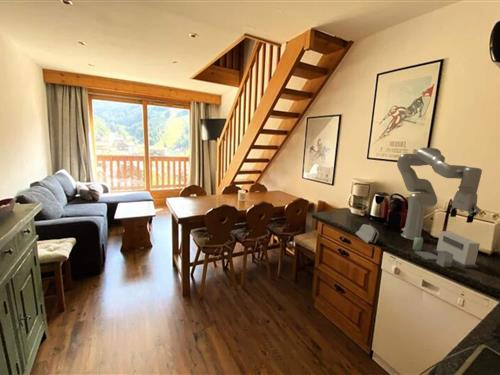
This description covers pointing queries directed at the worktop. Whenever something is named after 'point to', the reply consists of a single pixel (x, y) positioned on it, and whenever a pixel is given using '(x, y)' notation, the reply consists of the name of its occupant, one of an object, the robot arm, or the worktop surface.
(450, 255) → the metal block
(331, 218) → the worktop surface
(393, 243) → the worktop surface
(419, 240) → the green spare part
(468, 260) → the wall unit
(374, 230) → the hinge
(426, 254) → the slate mat
